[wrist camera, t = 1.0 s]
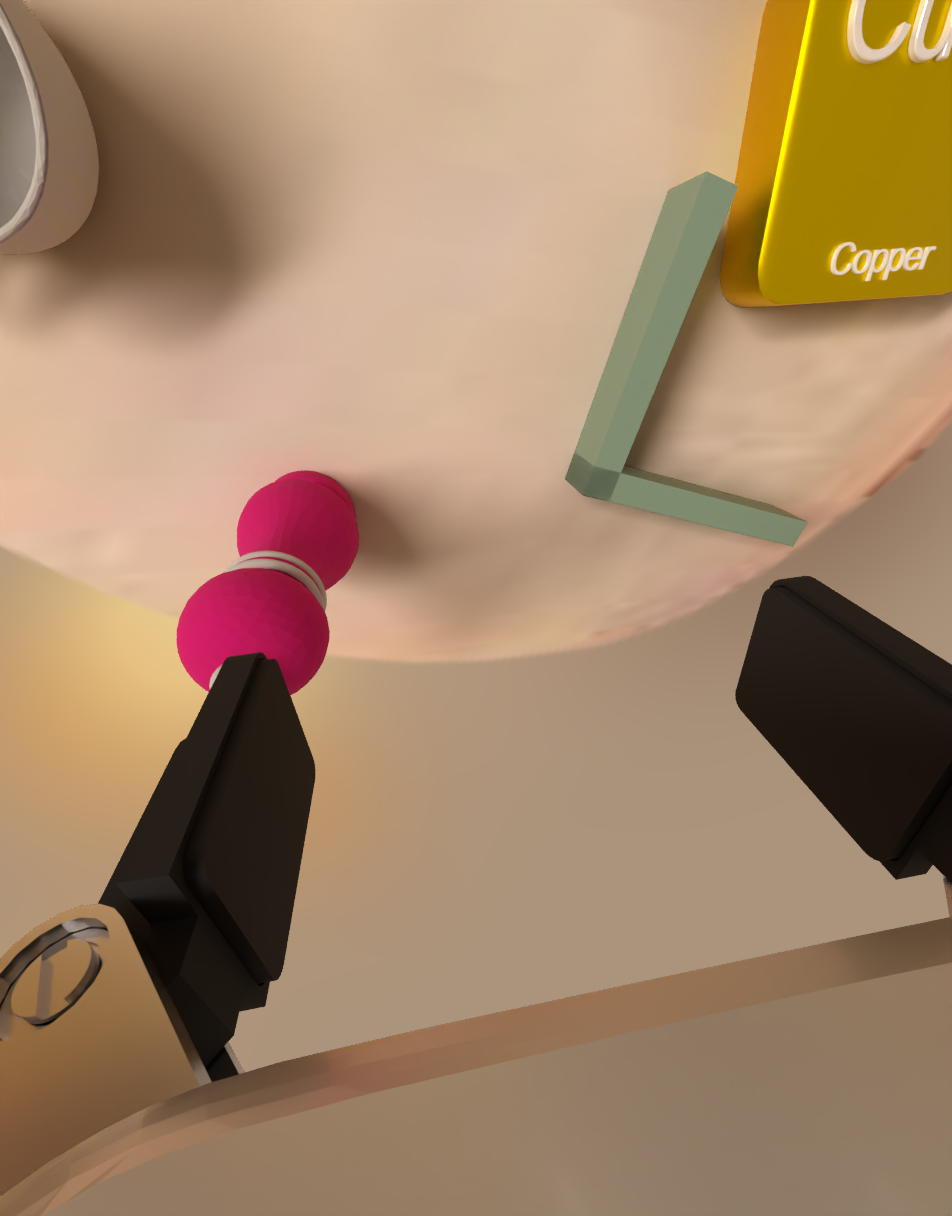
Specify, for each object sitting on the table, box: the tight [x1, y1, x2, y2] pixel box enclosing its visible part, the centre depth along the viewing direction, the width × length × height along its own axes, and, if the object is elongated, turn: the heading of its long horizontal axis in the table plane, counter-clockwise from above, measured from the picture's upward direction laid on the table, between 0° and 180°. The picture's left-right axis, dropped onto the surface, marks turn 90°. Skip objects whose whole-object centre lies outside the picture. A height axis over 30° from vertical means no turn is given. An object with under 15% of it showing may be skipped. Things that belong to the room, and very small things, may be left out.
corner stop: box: [565, 172, 808, 547], centre depth 33 cm, size 17×18×4 cm
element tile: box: [720, 0, 952, 307], centre depth 27 cm, size 15×15×5 cm
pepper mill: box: [177, 471, 359, 695], centre depth 26 cm, size 7×7×20 cm
